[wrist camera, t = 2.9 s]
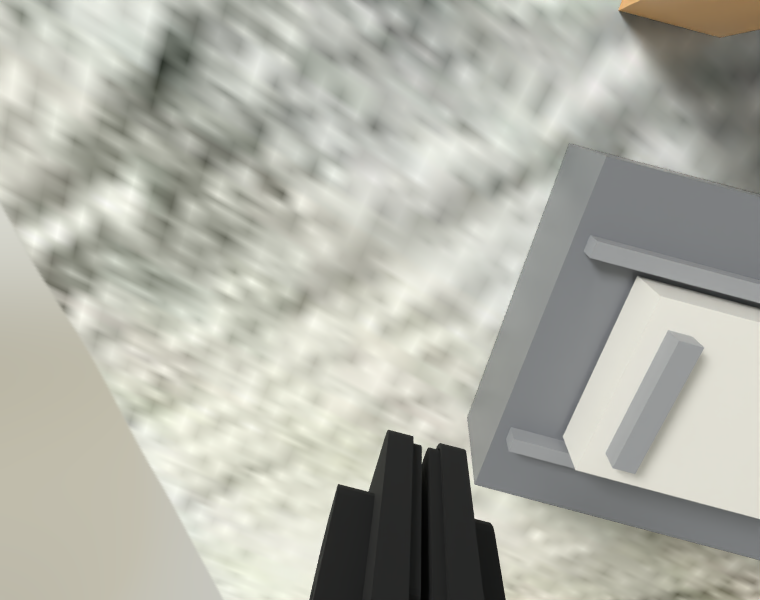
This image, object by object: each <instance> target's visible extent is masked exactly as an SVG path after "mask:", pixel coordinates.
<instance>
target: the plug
mask: <svg viewBox="0 0 760 600" xmlns="http://www.w3.org/2000/svg"><path fill="white" fill-rule="evenodd" d="M619 11H622V12H626V13H630V14H634V15H637V16H641V17H645V18H649V19H652V20H656V21H660V22H664V23H667V24H671V25H675V26H678V27H682V28H686V29H690V30H693V31H697V32H701V33H705V34H708V35H712V36H716V37H719V38H721V37H726V36H731V35H735V34H740V33H745V32H750V31H755V30H759V29H760V0H622V2H621V5H620V8H619Z"/></svg>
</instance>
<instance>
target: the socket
mask: <svg viewBox="0 0 760 600" xmlns="http://www.w3.org/2000/svg"><path fill="white" fill-rule="evenodd" d="M637 276H640V277H644V278H648V279H651V280H655V281H659V282H663V283H666V284H670V285H674V286H678V287H681V288H685V289H689V290H693V291H696V292H700V293H704V294H708V295H711V296H715V297H719V298H723V299H726V300H730V301H734V302H738V303H741V304H745V305H749V306H753V307H756V308H760V194H757V193H753V192H749V191H746V190H742V189H738V188H735V187H731V186H727V185H723V184H720V183H716V182H712V181H708V180H705V179H701V178H697V177H693V176H690V175H686V174H682V173H678V172H675V171H671V170H667V169H663V168H660V167H656V166H652V165H648V164H645V163H641V162H637V161H634V160H630V159H626V158H622V157H619V156H615V155H611V154H607V153H604V152H600V151H596V150H592V149H589V148H585V147H581V146H577V145H574V144H570V143H569V145H568V148H567V151H566V153H565V156H564V159H563V162H562V164H561V167H560V170H559V172H558V175H557V178H556V180H555V183H554V186H553V188H552V191H551V194H550V196H549V199H548V202H547V205H546V207H545V210H544V213H543V215H542V218H541V221H540V223H539V226H538V229H537V231H536V234H535V237H534V239H533V242H532V245H531V248H530V250H529V253H528V256H527V258H526V261H525V264H524V266H523V269H522V272H521V274H520V277H519V280H518V283H517V285H516V288H515V291H514V293H513V296H512V299H511V301H510V304H509V307H508V309H507V312H506V315H505V317H504V320H503V323H502V326H501V328H500V331H499V334H498V336H497V339H496V342H495V344H494V347H493V350H492V352H491V355H490V358H489V361H488V363H487V366H486V369H485V371H484V374H483V377H482V379H481V382H480V385H479V387H478V390H477V393H476V395H475V398H474V401H473V404H472V406H471V409H470V412H469V414H468V417H467V419H468V429H469V438H470V447H471V456H472V465H473V475H474V484H475V485H479V486H482V487H486V488H490V489H494V490H497V491H501V492H505V493H509V494H512V495H516V496H520V497H524V498H528V499H531V500H535V501H539V502H543V503H546V504H550V505H554V506H558V507H561V508H565V509H569V510H573V511H577V512H580V513H584V514H588V515H592V516H595V517H599V518H603V519H607V520H610V521H614V522H618V523H622V524H626V525H629V526H633V527H637V528H641V529H644V530H648V531H652V532H656V533H659V534H663V535H667V536H671V537H675V538H678V539H682V540H686V541H690V542H693V543H697V544H701V545H705V546H708V547H712V548H716V549H720V550H724V551H727V552H731V553H735V554H739V555H742V556H746V557H750V558H754V559H757V560H760V519H758V518H754V517H750V516H746V515H743V514H739V513H735V512H731V511H728V510H724V509H720V508H716V507H713V506H709V505H705V504H701V503H698V502H694V501H690V500H686V499H682V498H679V497H675V496H671V495H667V494H664V493H660V492H656V491H652V490H649V489H645V488H641V487H637V486H634V485H630V484H626V483H622V482H618V481H615V480H611V479H607V478H603V477H600V476H596V475H592V474H588V473H585V472H581V471H577V470H575V467H574V465H573V462H572V460H571V457H570V454H569V452H568V449H567V447H566V444H565V441H564V439H563V435H564V433H565V431H566V429H567V426H568V424H569V422H570V420H571V418H572V416H573V414H574V411H575V409H576V407H577V405H578V403H579V401H580V398H581V396H582V394H583V392H584V390H585V388H586V385H587V383H588V381H589V379H590V377H591V375H592V373H593V370H594V368H595V366H596V364H597V362H598V360H599V357H600V355H601V353H602V351H603V349H604V347H605V345H606V342H607V340H608V338H609V336H610V334H611V332H612V329H613V327H614V325H615V323H616V321H617V319H618V316H619V314H620V312H621V310H622V308H623V306H624V304H625V301H626V299H627V297H628V295H629V293H630V291H631V288H632V286H633V284H634V282H635V280H636V278H637Z"/></svg>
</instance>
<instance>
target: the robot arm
mask: <svg viewBox="0 0 760 600" xmlns="http://www.w3.org/2000/svg"><path fill="white" fill-rule="evenodd" d="M309 600H506V599H505V593H504V587H503V581H502V575H501V569H500V563H499V557H498V551H497V545H496V539H495V533H494V529H493V526H492V525H491V523H489V522H485V521H481V520H477V519H474V512H473V504H472V495H471V487H470V479H469V471H468V463H467V455H466V451H465V450H464V449H461V448H457V447H453V446H449V445H445V444H441V443H440V444H438V446H437V448H436V449H433V448H428V449H427V451H426V454H425V456H424V459H423V462H422V447H421V445H417V444H413V436H410V435H406V434H402V433H399V432H395V431H391V430H388V431H387V433H386V436H385V439H384V443H383V446H382V449H381V452H380V456H379V459H378V462H377V466H376V469H375V472H374V475H373V479H372V482H371V485H370V489H369V492H367V491H363V490H359V489H355V488H351V487H348V486H344V485H340V484H338V486H337V490H336V493H335V497H334V500H333V504H332V508H331V511H330V515H329V519H328V523H327V527H326V531H325V535H324V539H323V543H322V547H321V551H320V555H319V560H318V564H317V568H316V573H315V577H314V582H313V586H312V590H311V595H310V599H309Z"/></svg>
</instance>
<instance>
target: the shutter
mask: <svg viewBox="0 0 760 600" xmlns="http://www.w3.org/2000/svg"><path fill="white" fill-rule="evenodd" d="M563 439H564V441H565V444H566V447H567V449H568V452H569V454H570V457H571V460H572V462H573V465H574V467H575V470H577V471H581V472H585V473H588V474H592V475H596V476H600V477H603V478H607V479H611V480H615V481H618V482H622V483H626V484H630V485H634V486H637V487H641V488H645V489H649V490H652V491H656V492H660V493H664V494H667V495H671V496H675V497H679V498H682V499H686V500H690V501H694V502H698V503H701V504H705V505H709V506H713V507H716V508H720V509H724V510H728V511H731V512H735V513H739V514H743V515H746V516H750V517H754V518H758V519H760V308H756V307H753V306H749V305H745V304H741V303H738V302H734V301H730V300H726V299H723V298H719V297H715V296H711V295H708V294H704V293H700V292H696V291H693V290H689V289H685V288H681V287H678V286H674V285H670V284H666V283H663V282H659V281H655V280H651V279H648V278H644V277H640V276H637V278H636V280H635V282H634V284H633V286H632V288H631V291H630V293H629V295H628V297H627V299H626V301H625V304H624V306H623V308H622V310H621V312H620V314H619V316H618V319H617V321H616V323H615V325H614V327H613V329H612V332H611V334H610V336H609V338H608V340H607V342H606V345H605V347H604V349H603V351H602V353H601V355H600V357H599V360H598V362H597V364H596V366H595V368H594V370H593V373H592V375H591V377H590V379H589V381H588V383H587V385H586V388H585V390H584V392H583V394H582V396H581V398H580V401H579V403H578V405H577V407H576V409H575V411H574V414H573V416H572V418H571V420H570V422H569V424H568V426H567V429H566V431H565V433H564V435H563Z"/></svg>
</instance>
